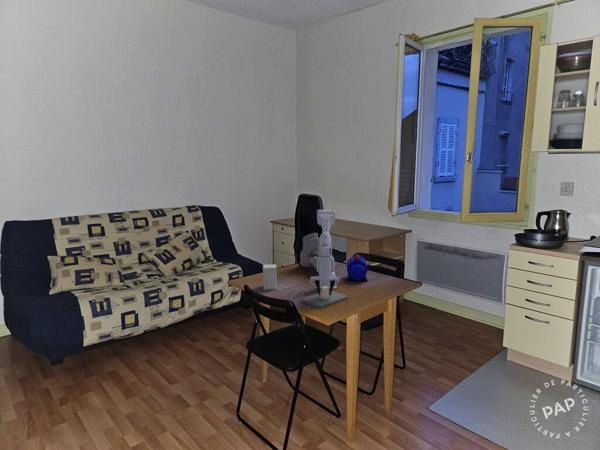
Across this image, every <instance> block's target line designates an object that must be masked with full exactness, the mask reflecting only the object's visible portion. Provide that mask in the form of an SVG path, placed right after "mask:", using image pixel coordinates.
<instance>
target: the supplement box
mask: <svg viewBox="0 0 600 450" xmlns="http://www.w3.org/2000/svg"><path fill="white" fill-rule="evenodd" d="M262 280H263V285H262V286H263V287H262V288H263V290H265V291H268V290H269V291H270V290H277V287H278V286H277V284H278V283H277V264H263V265H262Z"/></svg>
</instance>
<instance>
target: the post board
mask: <svg viewBox="0 0 600 450" xmlns="http://www.w3.org/2000/svg"><path fill="white" fill-rule="evenodd" d="M300 299H301V301H300V302H302V303H305V304H308V305H310V306H313V307H315V308H318V309H324V308H326V307H329V306H333V305H336V304H338V303H341V302H344V301H347V300H348V299H349V295H345V294H342V293H339V292H337V291H334V290H332V293H331V295H330V298H328V299H322V298H320V295H319V293H318V292H317V293H314V294H311V295H307V296H305V297H301V298H300Z"/></svg>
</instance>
